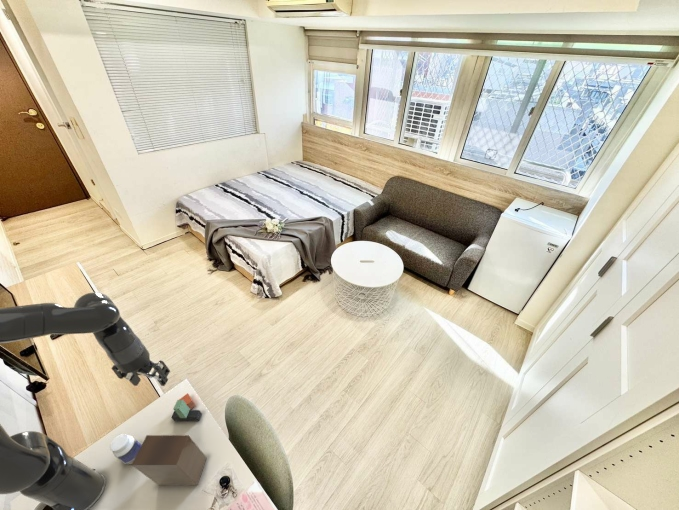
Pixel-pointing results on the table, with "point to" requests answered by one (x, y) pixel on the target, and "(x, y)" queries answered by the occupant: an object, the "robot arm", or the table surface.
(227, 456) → the table surface
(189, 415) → the wiper
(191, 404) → the orange red cube
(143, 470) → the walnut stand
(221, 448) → the table surface
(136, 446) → the pill bottle
